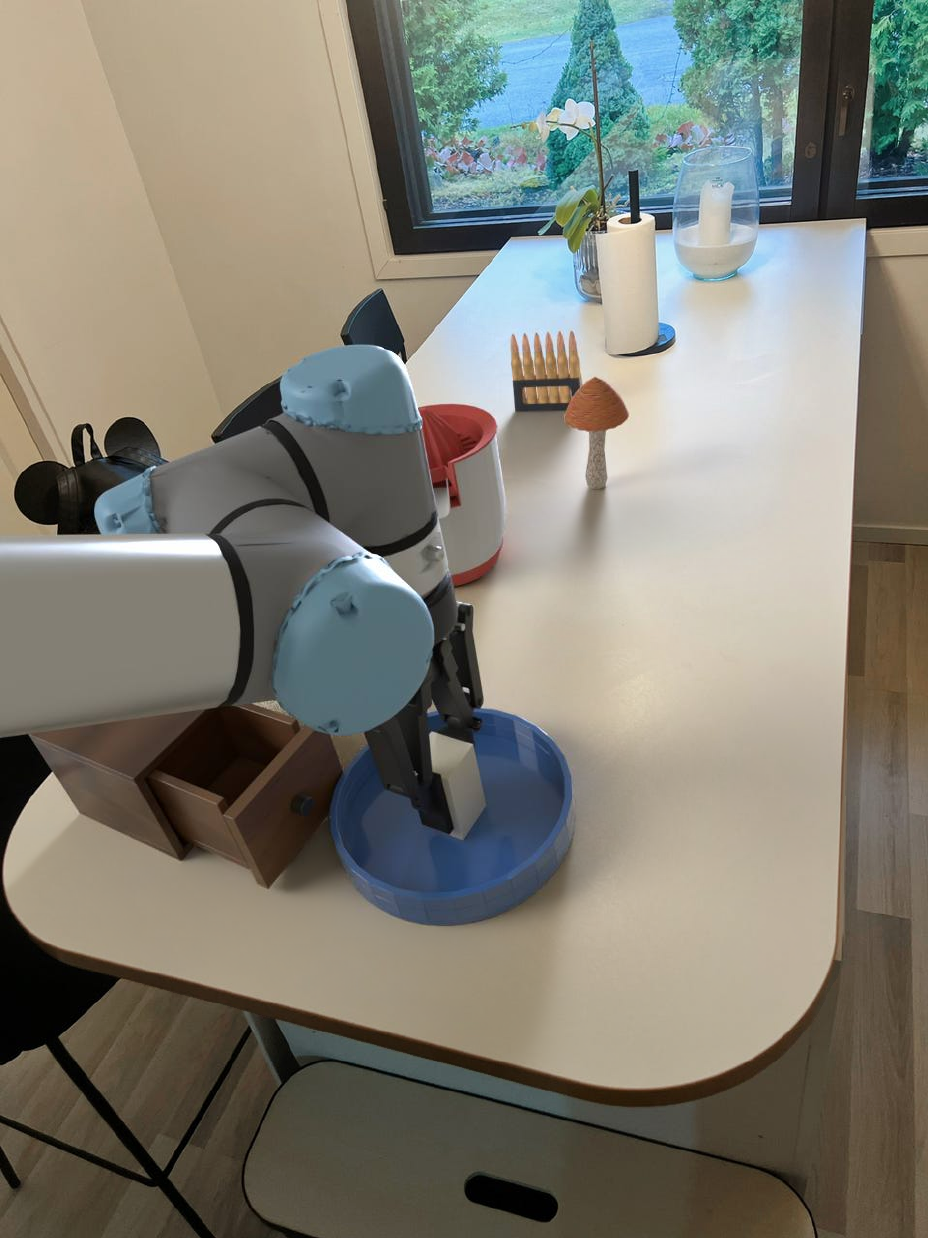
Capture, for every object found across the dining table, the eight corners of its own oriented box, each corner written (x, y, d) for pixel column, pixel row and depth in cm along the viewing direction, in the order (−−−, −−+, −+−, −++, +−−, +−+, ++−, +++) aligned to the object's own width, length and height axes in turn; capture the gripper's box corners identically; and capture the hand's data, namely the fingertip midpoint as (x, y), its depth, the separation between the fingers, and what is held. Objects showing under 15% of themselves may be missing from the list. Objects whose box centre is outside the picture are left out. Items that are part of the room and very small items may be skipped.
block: (463, 840, 72) (448, 779, 67) (422, 825, 74) (405, 765, 69) (486, 805, 74) (473, 744, 70) (446, 791, 76) (431, 731, 72)
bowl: (505, 966, 63) (498, 939, 61) (292, 872, 73) (280, 845, 70) (612, 770, 76) (610, 742, 74) (420, 712, 85) (413, 685, 83)
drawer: (360, 792, 77) (336, 722, 72) (279, 895, 70) (245, 824, 65) (246, 750, 84) (216, 683, 78) (161, 840, 76) (122, 772, 71)
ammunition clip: (585, 404, 134) (579, 327, 127) (583, 409, 133) (576, 332, 125) (517, 406, 137) (508, 331, 130) (514, 411, 136) (505, 336, 129)
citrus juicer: (383, 618, 99) (340, 460, 87) (391, 536, 112) (356, 390, 100) (520, 600, 97) (496, 437, 85) (512, 519, 111) (490, 369, 99)
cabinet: (272, 760, 83) (238, 678, 77) (180, 861, 75) (133, 779, 69) (174, 723, 90) (134, 645, 84) (79, 813, 82) (27, 734, 76)
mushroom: (644, 485, 112) (641, 375, 103) (594, 508, 110) (586, 397, 101) (606, 464, 118) (600, 358, 109) (558, 486, 116) (547, 378, 107)
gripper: (369, 671, 52) (437, 902, 66) (502, 522, 63) (537, 748, 77) (274, 644, 55) (358, 869, 69) (416, 507, 66) (464, 726, 80)
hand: (452, 805), depth 73 cm, fingers closed on block, 4 cm apart
